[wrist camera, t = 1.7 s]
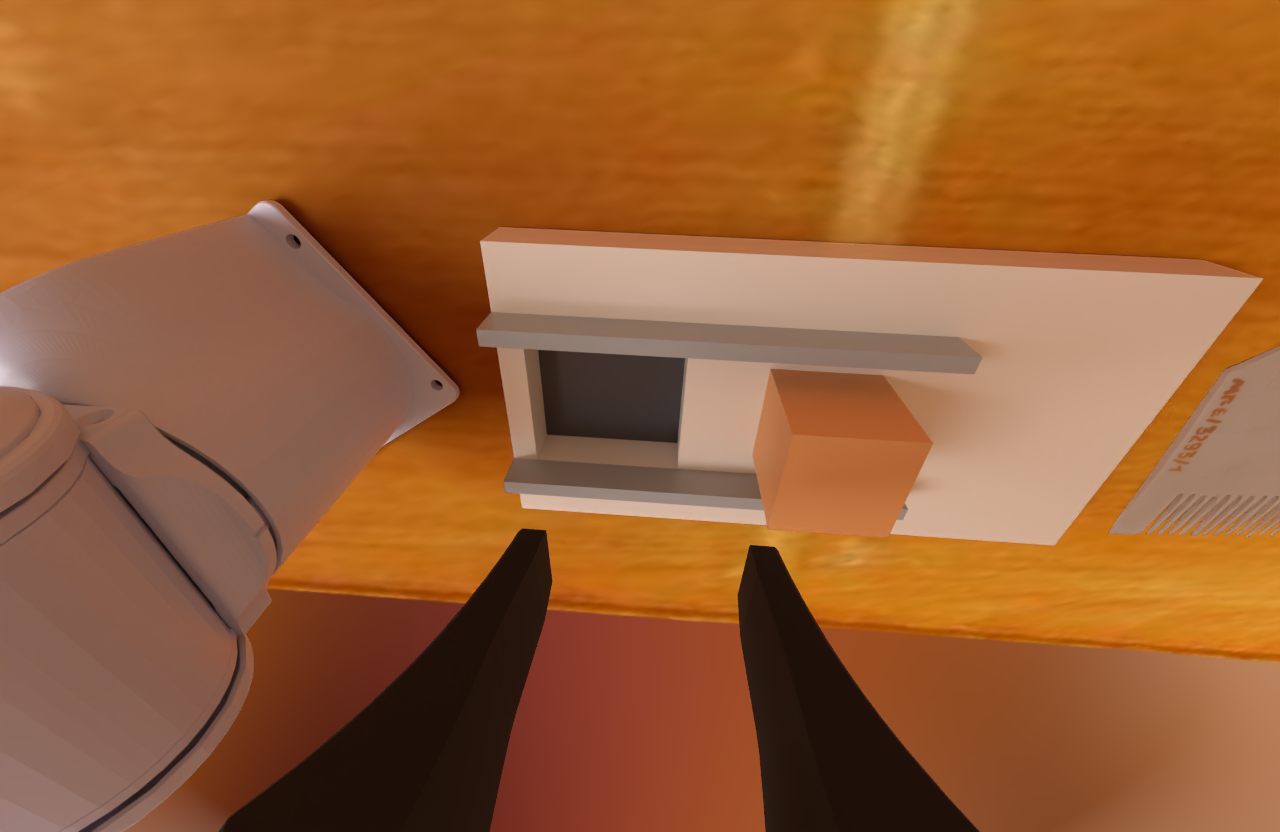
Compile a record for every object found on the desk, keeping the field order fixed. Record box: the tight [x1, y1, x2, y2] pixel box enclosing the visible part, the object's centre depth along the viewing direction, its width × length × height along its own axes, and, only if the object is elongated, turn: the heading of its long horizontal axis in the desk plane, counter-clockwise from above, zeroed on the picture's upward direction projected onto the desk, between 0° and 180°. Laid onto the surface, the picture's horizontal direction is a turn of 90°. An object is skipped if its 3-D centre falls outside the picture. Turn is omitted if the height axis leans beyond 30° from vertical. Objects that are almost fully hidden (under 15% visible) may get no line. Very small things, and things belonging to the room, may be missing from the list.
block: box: [752, 369, 933, 538], centre depth 16 cm, size 4×4×4 cm
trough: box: [476, 227, 1264, 545], centre depth 18 cm, size 24×12×4 cm, turn 88°
